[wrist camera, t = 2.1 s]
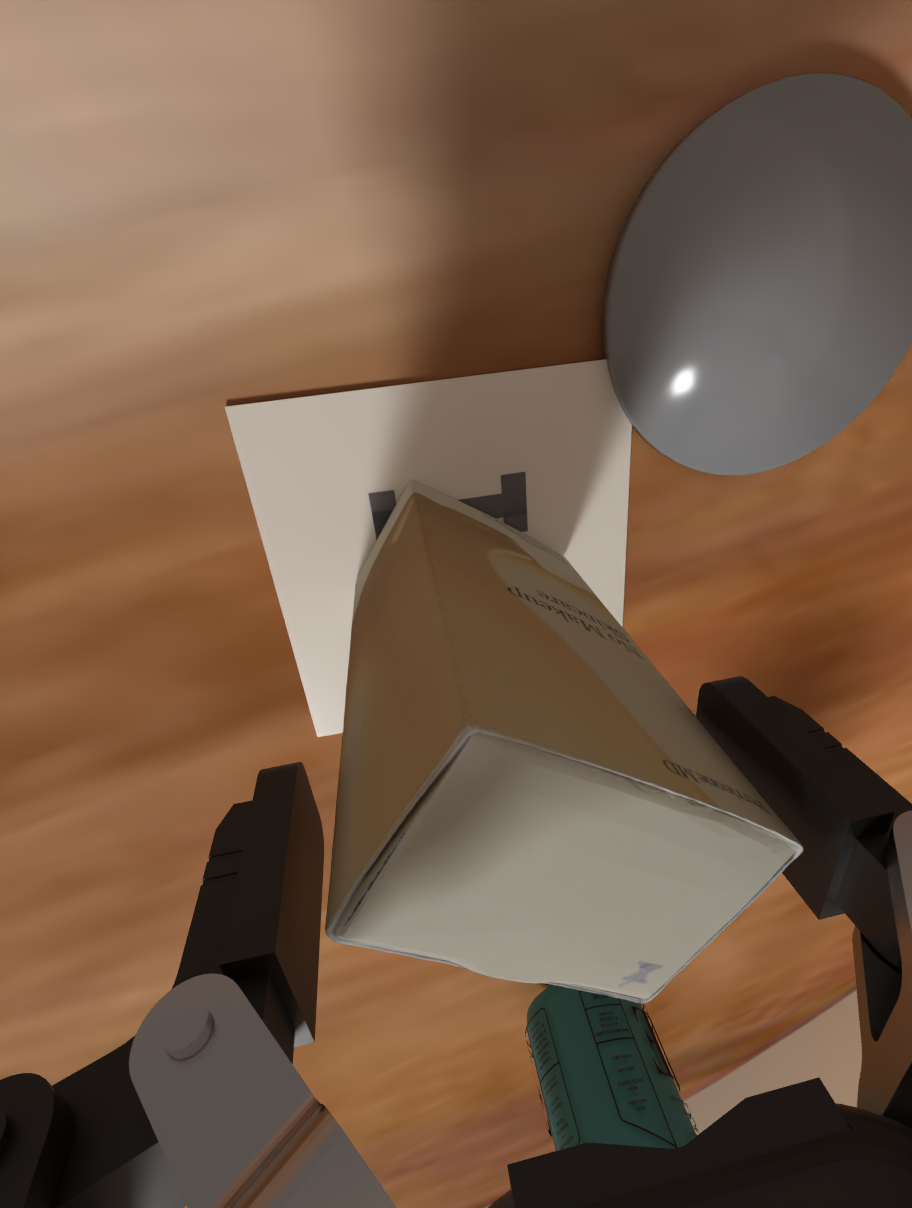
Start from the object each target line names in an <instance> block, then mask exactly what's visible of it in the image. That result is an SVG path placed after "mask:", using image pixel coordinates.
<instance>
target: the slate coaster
mask: <svg viewBox="0 0 912 1208" xmlns="http://www.w3.org/2000/svg"><path fill="white" fill-rule="evenodd" d="M602 328H603V349H604V355H605V359H606V360H607V366H608V371H609V375H610V378H611V382H612V385H613V389H614V392H615V394H616V396H617V399H618V401H619V403H620V405H621V408H622V410H623V411H624V413H625V415H626V416H627V418H628V419H629V421H630V423H631V424H632V427H633V428H634V429H635V430H636V432H637V433H638V434H639V435H640V436H641V437H642V439H643V440H644V441H646V442H647V443H648V444H649V445H650V446H652V447H653V448H654V449H655V450H656V451H658V452H659V453H661V454H663V455H664V456H666V457H668V458H669V459H671V460H673V461H675V462H678V463H680V464H682V465H685V466H687V467H690V468H692V469H695V470H697V471H702V472H706V473H711V474H717V475H745V474H754V473H758V472H763V471H768V470H771V469H774V468H777V467H780V466H783V465H786V464H789V463H791V462H793V461H795V460H797V459H799V458H801V457H803V456H805V455H807V454H809V453H811V452H812V451H814V450H815V449H817V448H819V447H820V446H822V445H824V444H825V443H826V442H828V441H829V440H830V439H832V438H833V437H834V436H836V435H837V434H838V433H840V432H841V431H842V430H843V429H845V428H846V427H847V426H848V425H849V424H850V423H851V422H852V421H853V420H854V419H855V418H856V417H858V416H859V415H860V414H861V413H862V411H863V410H864V409H865V408H866V407H867V406H868V405H869V404H870V403H871V402H872V400H873V399H874V398H875V397H876V396H877V395H878V393H879V392H880V391H881V389H882V388H883V387H884V385H885V384H886V383H887V381H888V380H889V379H890V377H891V376H892V374H893V373H894V371H895V370H896V368H897V366H898V365H899V363H900V362H901V360H902V359H903V357H904V355H905V353H906V351H907V350H908V348H909V346H910V344H911V342H912V118H911V116H910V115H909V114H908V113H907V112H906V111H905V110H904V109H903V108H902V107H901V106H900V105H899V103H898V102H897V101H896V100H894V99H893V98H892V97H890V96H889V95H887V94H886V93H885V92H883V91H882V90H880V89H879V88H878V87H875V86H873V85H871V84H869V83H866V82H864V81H862V80H860V79H857V78H853V77H848V76H844V75H839V74H830V73H809V74H803V75H797V76H791V77H786V78H783V79H780V80H777V81H774V82H771V83H769V84H766V85H763V86H760V87H758V88H756V89H754V90H753V91H751V92H749V93H747V94H745V95H743V96H741V97H739V98H737V99H736V100H734V101H732V102H731V103H729V104H727V105H726V106H724V107H722V108H721V109H719V110H718V111H717V112H715V113H714V114H712V115H711V116H710V117H708V118H707V119H705V120H704V121H703V122H701V123H700V124H699V125H697V126H696V127H695V128H694V129H693V130H692V131H691V132H690V133H689V134H688V135H687V136H686V137H685V138H683V139H682V140H681V141H680V142H679V143H678V144H677V145H676V146H675V148H674V149H673V150H672V151H671V152H670V153H669V155H668V156H667V157H666V158H665V159H664V160H663V162H662V163H661V164H660V165H659V166H658V168H657V169H656V171H655V172H654V174H653V175H652V177H651V178H650V180H649V181H648V182H647V184H646V185H645V187H644V188H643V190H642V192H641V193H640V195H639V197H638V199H637V201H636V203H635V205H634V206H633V208H632V210H631V212H630V214H629V216H628V218H627V220H626V223H625V225H624V228H623V230H622V233H621V235H620V237H619V240H618V242H617V245H616V249H615V252H614V255H613V259H612V262H611V266H610V269H609V274H608V279H607V284H606V290H605V295H604V306H603V320H602Z"/></svg>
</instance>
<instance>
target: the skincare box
mask: <svg viewBox="0 0 912 1208" xmlns="http://www.w3.org/2000/svg"><path fill="white" fill-rule="evenodd" d="M802 852H803V845H802V844H801V842H800V841H799V840H798V839H797V838H796V836H795V835H794V834H793V833H792V832H791V831H790V830H789V828H788V827H787V826H786V825H785V824H784V823H783V822H782V820H781V819H780V818H779V817H778V816H777V815H776V813H775V812H774V811H773V810H772V809H771V807H770V806H769V805H768V804H767V803H766V801H765V800H764V799H763V798H762V797H761V795H760V794H759V793H758V792H757V790H756V789H755V788H754V787H753V786H752V784H751V783H750V782H749V781H748V779H747V778H746V777H745V776H744V774H743V773H742V772H741V771H740V770H739V769H738V767H737V766H736V765H735V764H734V763H733V762H732V760H731V759H730V758H729V756H728V755H727V754H726V753H725V752H724V750H723V749H722V748H721V747H720V746H719V744H718V743H717V742H716V741H715V740H714V738H713V737H712V736H711V735H710V734H709V732H708V731H707V730H706V729H705V727H704V726H703V725H702V724H701V723H700V721H699V720H698V719H697V718H696V716H695V715H694V714H693V713H692V711H691V710H690V709H689V708H688V707H687V705H686V704H685V703H684V702H683V700H682V699H681V698H680V697H679V696H678V694H677V693H676V692H675V691H674V690H673V688H672V687H671V686H670V685H669V683H668V682H667V681H666V680H665V679H664V677H663V676H662V675H661V674H660V673H659V671H658V670H657V669H656V668H655V667H654V665H653V664H652V663H651V662H650V660H649V659H648V658H647V657H646V655H645V654H644V653H643V652H642V651H641V649H640V648H639V647H638V646H637V645H636V643H635V642H634V641H633V640H632V639H631V637H630V636H629V635H628V633H627V632H626V631H625V630H624V629H623V627H622V626H621V625H620V624H619V622H618V621H617V620H616V619H615V618H614V617H613V615H612V614H611V613H610V612H609V611H608V609H607V608H606V607H605V606H604V605H603V603H602V602H601V601H600V600H599V598H598V597H597V596H596V595H595V593H594V592H593V591H592V590H591V588H590V587H589V586H588V585H587V583H586V582H585V581H584V580H583V579H582V577H581V576H580V575H579V574H578V572H577V571H576V570H575V569H574V568H573V566H572V565H571V564H570V563H569V561H568V560H567V559H566V558H565V557H564V556H563V555H561V554H559V553H558V552H556V551H554V550H553V549H551V548H549V547H547V546H546V545H544V544H542V543H540V542H539V541H537V540H535V539H533V538H531V537H530V536H528V535H526V534H524V533H522V532H520V531H518V530H516V529H515V528H513V527H511V526H509V525H507V524H505V523H503V522H501V521H499V520H497V519H495V518H493V517H491V516H490V515H488V514H485V513H483V512H481V511H479V510H477V509H475V508H473V507H471V506H469V505H466V504H464V503H462V502H460V501H458V500H456V499H454V498H452V497H450V496H447V495H445V494H443V493H441V492H439V491H437V490H434V489H432V488H430V487H428V486H426V485H424V484H422V483H420V482H417V481H415V480H411V481H409V483H408V484H407V486H406V488H405V490H404V492H403V493H402V495H401V497H400V499H399V500H398V502H397V504H396V506H395V508H394V509H393V511H392V513H391V515H390V517H389V519H388V521H387V522H386V524H385V526H384V528H383V530H382V532H381V534H380V535H379V537H378V539H377V541H376V543H375V545H374V547H373V549H372V551H371V553H370V555H369V557H368V559H367V561H366V563H365V565H364V567H363V569H362V571H361V573H360V575H359V577H358V579H357V581H356V584H355V595H354V606H353V617H352V627H351V641H350V653H349V664H348V675H347V685H346V697H345V711H344V725H343V736H342V747H341V757H340V768H339V779H338V791H337V802H336V815H335V828H334V839H333V848H332V861H331V875H330V885H329V896H328V906H327V916H326V926H325V931H326V934H327V936H328V937H329V938H330V939H332V940H333V941H334V942H337V943H342V944H347V945H354V946H361V947H366V948H371V949H376V950H380V951H385V952H390V953H396V954H401V955H406V956H412V957H416V958H419V959H423V960H430V961H437V962H442V963H446V964H451V965H455V966H459V967H462V968H466V969H469V970H471V971H474V972H476V973H480V974H483V975H487V976H490V977H495V978H500V979H505V980H511V981H518V982H525V983H545V984H552V985H557V986H563V987H567V988H572V989H577V990H582V991H586V992H591V993H597V994H603V995H607V996H611V997H615V998H620V999H625V1000H629V1001H633V1002H636V1003H647V1002H649V1001H650V1000H652V999H653V998H654V997H655V996H656V995H658V994H659V992H660V991H661V990H662V989H663V988H664V987H665V986H666V985H667V984H668V982H669V981H670V980H671V979H672V978H673V977H674V976H675V975H677V974H678V973H679V972H680V971H681V970H683V969H684V968H685V967H686V965H687V964H689V963H690V962H691V961H692V960H693V959H694V958H695V957H696V956H697V955H698V954H699V953H700V952H701V951H702V950H703V949H704V948H705V947H706V946H707V945H708V944H709V943H711V942H712V941H713V940H714V939H715V938H716V937H717V936H718V935H719V934H720V932H721V931H723V930H724V929H725V928H726V927H727V926H728V925H729V924H730V923H731V922H732V921H733V920H734V919H735V918H736V917H737V916H738V915H739V914H740V913H741V912H743V911H744V909H745V908H747V907H748V906H749V905H750V904H751V903H752V902H753V901H754V900H755V899H756V898H757V897H758V896H760V895H761V894H762V893H763V892H764V890H765V889H766V888H767V887H768V886H769V885H770V884H771V883H772V882H773V881H774V880H775V879H776V878H777V876H778V875H779V874H781V873H782V872H783V871H784V869H785V868H786V867H787V866H788V865H789V864H790V863H791V862H792V861H793V860H795V859H796V858H797V857H798V856H799V855H800V854H801V853H802Z"/></svg>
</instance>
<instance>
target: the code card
mask: <svg viewBox="0 0 912 1208" xmlns="http://www.w3.org/2000/svg"><path fill="white" fill-rule="evenodd" d="M225 410H226V413H227V417H228V420H229V424H230V427H231V431H232V435H233V438H234V442H235V445H236V449H237V452H238V456H239V459H240V463H241V467H242V470H243V474H244V477H245V481H246V484H247V488H248V491H249V495H250V499H251V502H252V506H253V509H254V513H255V516H256V520H257V524H258V527H259V531H260V534H261V538H262V541H263V545H264V548H265V552H266V556H267V559H268V563H269V566H270V570H271V573H272V577H273V581H274V584H275V588H276V591H277V595H278V598H279V602H280V605H281V609H282V613H283V616H284V620H285V623H286V627H287V630H288V634H289V638H290V641H291V645H292V648H293V652H294V655H295V659H296V662H297V666H298V670H299V673H300V677H301V680H302V684H303V687H304V691H305V695H306V698H307V702H308V705H309V709H310V712H311V716H312V719H313V723H314V727H315V730H316V734H317V737H321V736H327V735H332V734H338V733H343V725H344V711H345V697H346V685H347V675H348V664H349V653H350V641H351V627H352V617H353V606H354V595H355V584H356V581H357V579H358V577H359V575H360V573H361V571H362V569H363V567H364V565H365V563H366V561H367V559H368V557H369V555H370V553H371V551H372V549H373V547H374V545H375V543H376V541H377V539H378V537H379V535H380V534H381V532H382V530H383V528H384V526H385V524H386V522H387V521H388V519H389V517H390V515H391V513H392V511H393V509H394V508H395V506H396V504H397V502H398V500H399V499H400V497H401V495H402V493H403V492H404V490H405V488H406V486H407V484H408V483H409V481H411V480H415V481H417V482H420V483H422V484H424V485H426V486H428V487H430V488H432V489H434V490H437V491H439V492H441V493H443V494H445V495H447V496H450V497H452V498H454V499H456V500H458V501H460V502H462V503H464V504H466V505H469V506H471V507H473V508H475V509H477V510H479V511H481V512H483V513H485V514H488V515H490V516H491V517H493V518H495V519H497V520H499V521H501V522H503V523H505V524H507V525H509V526H511V527H513V528H515V529H516V530H518V531H520V532H522V533H524V534H526V535H528V536H530V537H531V538H533V539H535V540H537V541H539V542H540V543H542V544H544V545H546V546H547V547H549V548H551V549H553V550H554V551H556V552H558V553H559V554H561V555H563V556H564V557H565V558H566V559H567V560H568V561H569V563H570V564H571V565H572V566H573V568H574V569H575V570H576V571H577V572H578V574H579V575H580V576H581V577H582V579H583V580H584V581H585V582H586V583H587V585H588V586H589V587H590V588H591V590H592V591H593V592H594V593H595V595H596V596H597V597H598V598H599V600H600V601H601V602H602V603H603V605H604V606H605V607H606V608H607V609H608V611H609V612H610V613H611V614H612V615H613V617H614V618H615V619H616V620H617V621H618V622H619V624H620V625H621V626H622V627H623V605H624V584H625V562H626V540H627V518H628V497H629V475H630V453H631V431H632V424H631V423H630V421H629V419H628V418H627V416H626V415H625V413H624V411H623V410H622V408H621V405H620V403H619V401H618V399H617V396H616V394H615V392H614V389H613V385H612V382H611V378H610V375H609V371H608V366H607V360H606V359H603V360H595V361H587V362H579V363H571V364H563V365H555V366H547V367H539V368H531V369H523V370H515V371H507V372H499V373H491V374H482V375H474V376H466V377H458V378H450V379H442V380H434V381H426V382H418V383H410V384H402V385H394V386H386V387H378V388H370V389H362V390H354V391H346V392H338V393H329V394H321V395H313V396H305V397H297V398H289V399H281V400H273V401H265V402H257V403H249V404H241V405H233V406H225Z"/></svg>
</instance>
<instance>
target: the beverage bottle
mask: <svg viewBox="0 0 912 1208" xmlns="http://www.w3.org/2000/svg"><path fill="white" fill-rule="evenodd" d="M641 1004H642V1003H636V1002H633V1001H629V1000H625V999H620V998H615V997H611V996H607V995H603V994H597V993H591V992H586V991H582V990H577V989H572V988H567V987H563V986H557V985H551V986H549V987H548V988H547V989H545V990H544V991H543V992H541V993H540V994H539V995H538V996H537V997H536V998H535V999H534V1001H533V1002H532V1003H531V1005H530V1007H529V1009H528V1012H527V1027H526V1030H527V1032H528V1036H529V1040H530V1045H531V1046H530V1045H529V1044H527V1045H529V1046H530V1047H531V1049H532V1053H533V1055H532V1053H531V1055H532V1058H533V1057H534V1061H535V1065H536V1069H537V1073H538V1078H539V1082H540V1086H541V1090H542V1094H543V1098H544V1102H545V1106H546V1110H547V1115H548V1119H549V1122H548V1124H549V1123H550V1126H549V1131H548V1132H549V1134H550V1135H551V1136H552V1135H553V1139H554V1143H555V1148H556V1151H558V1150H562V1149H566V1148H569V1147H573V1146H576V1145H580V1144H583V1143H587V1142H589V1143H603V1144H616V1145H629V1146H642V1147H655V1148H668V1149H673V1148H679V1147H682V1146H684V1145H686V1144H687V1143H688V1142H690V1141H691V1140H692V1139H694V1138H695V1137H696V1136H697V1135H696V1133H695V1130H694V1128H693V1126H692V1123H691V1121H690V1119H689V1117H691V1114H690V1115H689V1114H687V1112H686V1109H685V1107H684V1103H683V1101H682V1100H681V1097H680V1095H679V1093H678V1090H677V1088H676V1086H675V1083H674V1081H673V1079H674V1077H675V1075H674V1073H673V1070H672V1068H671V1066H670V1063H669V1061H668V1059H667V1061H668V1063H669V1066H670V1068H671V1070H672V1073H673V1075H674V1077H673V1076H672V1075H671V1073H670V1070H669V1068H668V1066H667V1063H666V1061H665V1059H664V1056H663V1054H662V1052H661V1049H660V1047H659V1045H658V1042H657V1040H656V1037H655V1035H654V1032H653V1028H654V1026H653V1024H652V1021H651V1018H650V1017H649V1015H648V1016H646V1012H645V1011H644V1003H643V1008H642V1005H641ZM645 1008H646V1007H645ZM646 1010H647V1009H646ZM647 1014H648V1012H647ZM648 1017H649V1019H650V1021H651V1024H652V1028H651V1026H650V1023H649V1021H648V1019H647V1018H648ZM654 1030H655V1028H654ZM655 1033H656V1031H655ZM656 1035H657V1033H656ZM525 1037H526V1032H525ZM657 1037H658V1035H657ZM658 1040H659V1038H658ZM526 1041H527V1040H526ZM659 1042H660V1040H659ZM527 1043H528V1042H527ZM660 1044H661V1042H660ZM661 1047H662V1045H661ZM528 1048H529V1047H528ZM662 1049H663V1047H662ZM663 1051H664V1049H663ZM529 1052H530V1051H529ZM664 1054H665V1052H664ZM531 1055H530V1058H531ZM665 1056H666V1054H665ZM666 1058H667V1056H666ZM531 1062H532V1061H531ZM535 1079H536V1078H535ZM675 1080H676V1077H675ZM676 1082H677V1080H676ZM536 1083H537V1082H536ZM677 1084H678V1082H677ZM678 1087H679V1084H678ZM679 1091H680V1087H679ZM539 1092H540V1090H539ZM540 1098H541V1095H540ZM541 1101H542V1099H541ZM541 1104H543V1103H541ZM685 1104H686V1103H685ZM687 1107H688V1106H687ZM543 1108H544V1107H543ZM688 1115H689V1116H688ZM546 1125H547V1124H546ZM695 1126H696V1125H695ZM550 1127H551V1130H550ZM695 1129H696V1128H695ZM551 1131H552V1134H551ZM697 1131H698V1130H697Z"/></svg>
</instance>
